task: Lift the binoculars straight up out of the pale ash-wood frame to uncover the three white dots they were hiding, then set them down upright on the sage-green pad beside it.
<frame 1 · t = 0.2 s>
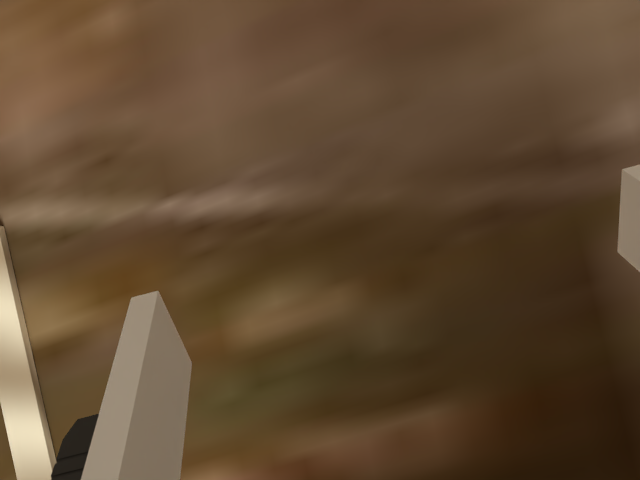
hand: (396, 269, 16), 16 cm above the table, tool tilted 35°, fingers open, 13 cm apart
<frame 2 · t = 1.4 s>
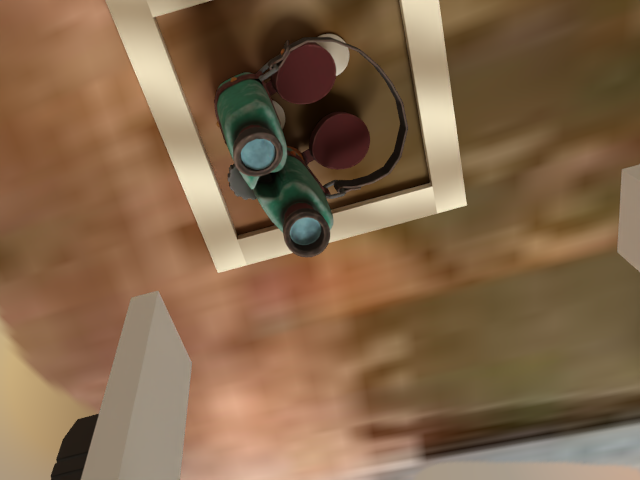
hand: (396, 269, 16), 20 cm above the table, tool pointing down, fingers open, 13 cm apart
binoculars: (305, 106, 34), on the table, touching layout frame
layout frame: (305, 107, 34), on the table
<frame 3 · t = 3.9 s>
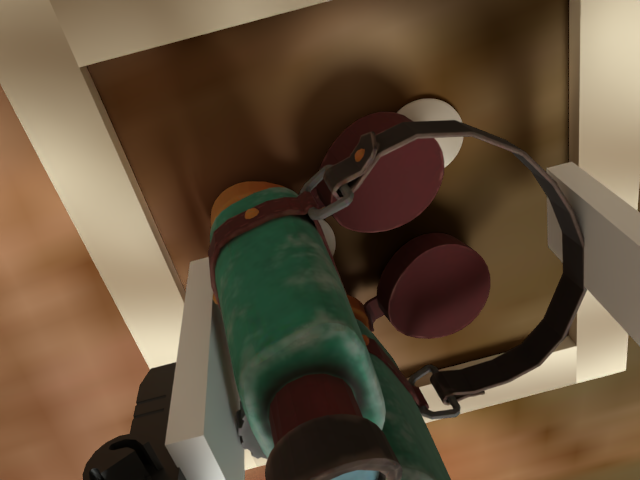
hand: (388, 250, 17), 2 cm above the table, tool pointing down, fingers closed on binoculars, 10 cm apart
binoculars: (372, 223, 18), on the table, touching gripper, layout frame
layout frame: (373, 225, 18), on the table
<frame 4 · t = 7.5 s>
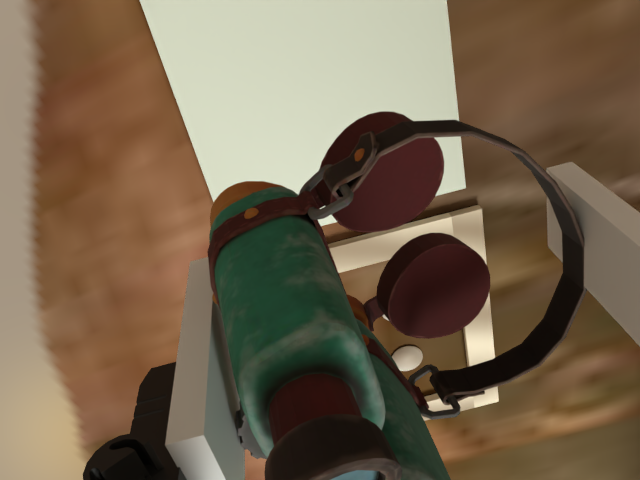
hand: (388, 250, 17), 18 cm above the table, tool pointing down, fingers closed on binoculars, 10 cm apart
binoculars: (372, 223, 18), point 16 cm above the table, touching gripper
layout frame: (375, 340, 42), on the table
pad: (317, 89, 32), on the table
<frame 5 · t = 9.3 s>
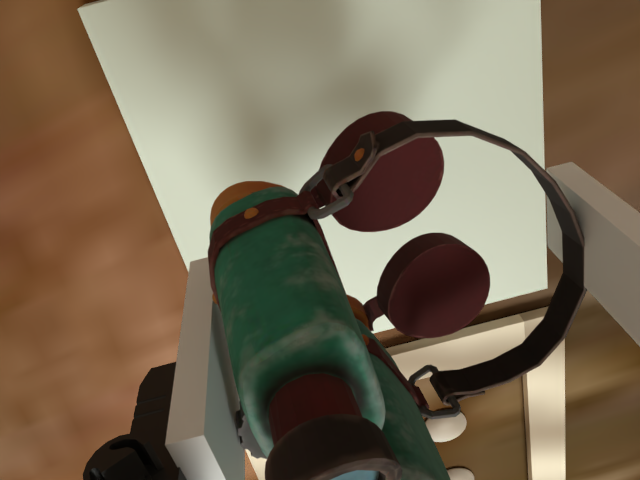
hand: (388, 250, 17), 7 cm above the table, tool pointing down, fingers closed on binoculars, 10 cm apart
binoculars: (372, 223, 18), point 5 cm above the table, touching gripper
layout frame: (415, 463, 33), on the table
pad: (350, 164, 23), on the table
when the fingers open (4 cm above the table, at t = 10.9 s): binoculars drops 2 cm, resting on pad.
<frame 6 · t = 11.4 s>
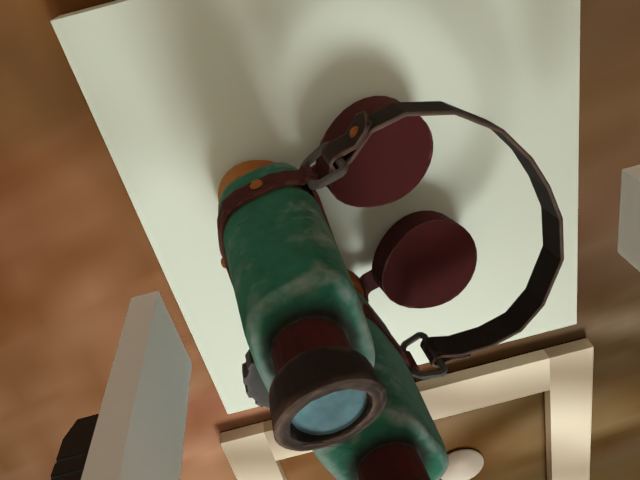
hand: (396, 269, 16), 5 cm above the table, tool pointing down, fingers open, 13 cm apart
binoculars: (367, 201, 20), point 1 cm above the table, touching pad
pad: (362, 191, 20), on the table
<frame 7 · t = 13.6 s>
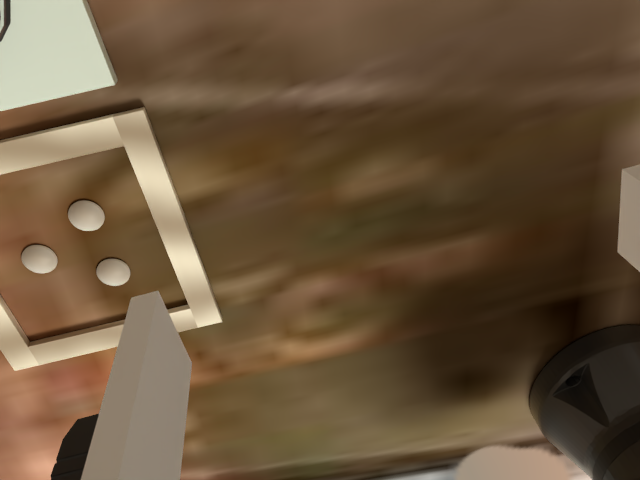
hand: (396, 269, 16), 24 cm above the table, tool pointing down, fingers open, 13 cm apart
layout frame: (73, 250, 41), on the table
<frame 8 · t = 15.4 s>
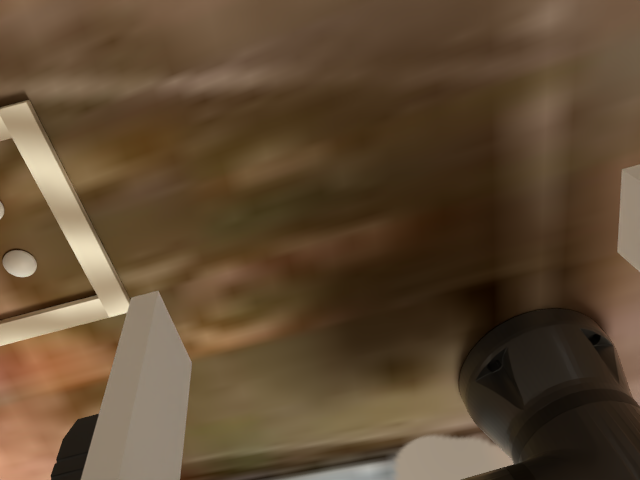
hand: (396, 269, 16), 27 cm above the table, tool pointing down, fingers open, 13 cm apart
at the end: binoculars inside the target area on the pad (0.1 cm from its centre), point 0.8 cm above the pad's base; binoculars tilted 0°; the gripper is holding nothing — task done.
